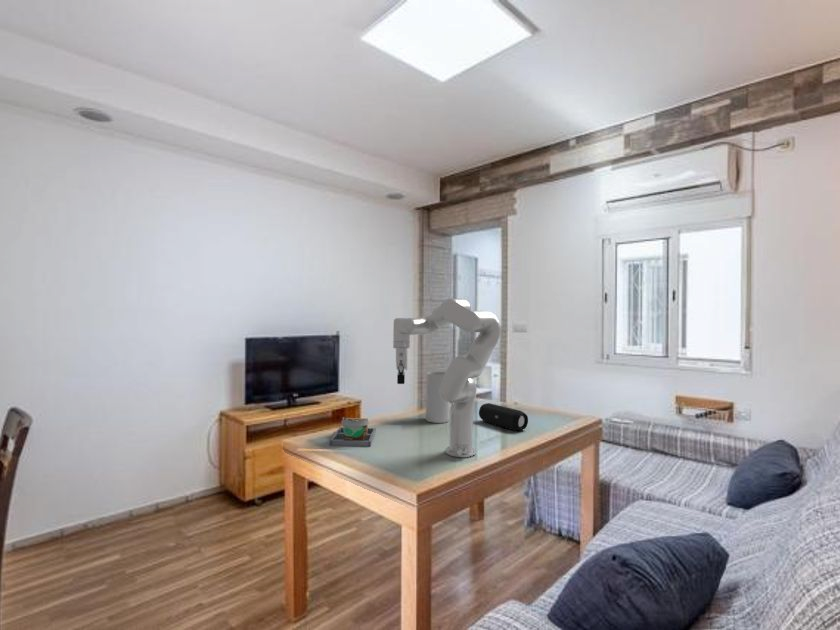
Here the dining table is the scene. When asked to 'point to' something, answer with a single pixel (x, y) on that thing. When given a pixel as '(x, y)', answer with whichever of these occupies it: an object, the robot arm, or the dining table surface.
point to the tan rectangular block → (360, 420)
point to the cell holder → (339, 440)
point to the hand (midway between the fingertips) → (400, 382)
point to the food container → (354, 429)
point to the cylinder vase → (436, 399)
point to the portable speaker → (503, 416)
